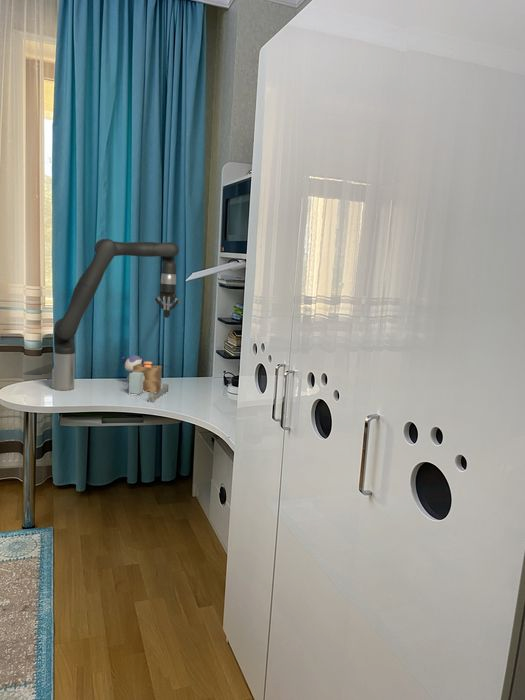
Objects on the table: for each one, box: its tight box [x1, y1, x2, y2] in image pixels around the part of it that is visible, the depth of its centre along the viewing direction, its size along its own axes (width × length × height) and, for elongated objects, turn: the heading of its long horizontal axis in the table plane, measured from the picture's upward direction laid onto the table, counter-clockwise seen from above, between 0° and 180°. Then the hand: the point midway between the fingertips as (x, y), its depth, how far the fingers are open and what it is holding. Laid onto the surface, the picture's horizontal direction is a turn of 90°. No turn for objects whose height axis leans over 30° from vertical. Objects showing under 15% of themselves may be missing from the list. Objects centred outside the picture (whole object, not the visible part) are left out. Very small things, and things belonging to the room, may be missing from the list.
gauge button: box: [143, 360, 153, 368], centre depth 289 cm, size 4×4×8 cm
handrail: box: [147, 383, 169, 403], centre depth 279 cm, size 2×22×4 cm, turn 171°
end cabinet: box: [133, 364, 163, 393], centre depth 289 cm, size 12×8×12 cm, turn 81°
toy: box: [122, 354, 144, 381], centre depth 300 cm, size 11×10×15 cm
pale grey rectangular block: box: [128, 372, 144, 396], centre depth 281 cm, size 5×5×10 cm
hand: (166, 317), depth 298 cm, fingers closed
